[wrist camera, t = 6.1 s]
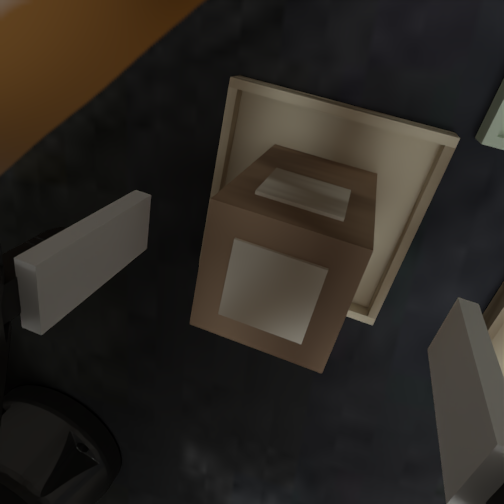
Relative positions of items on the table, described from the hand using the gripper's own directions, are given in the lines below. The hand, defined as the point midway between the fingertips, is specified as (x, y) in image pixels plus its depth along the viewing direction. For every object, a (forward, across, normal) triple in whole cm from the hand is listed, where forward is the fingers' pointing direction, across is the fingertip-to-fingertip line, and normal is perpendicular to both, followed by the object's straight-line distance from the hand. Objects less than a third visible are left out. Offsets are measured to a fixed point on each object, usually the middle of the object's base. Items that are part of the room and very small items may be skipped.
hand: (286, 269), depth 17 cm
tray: (+9, 0, 0) cm, 9 cm away
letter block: (+8, 0, 0) cm, 8 cm away
